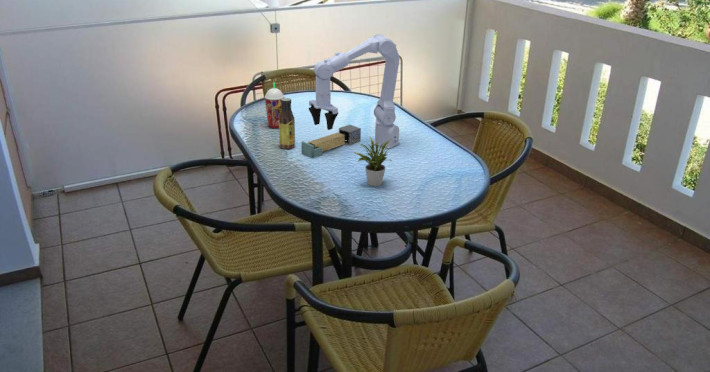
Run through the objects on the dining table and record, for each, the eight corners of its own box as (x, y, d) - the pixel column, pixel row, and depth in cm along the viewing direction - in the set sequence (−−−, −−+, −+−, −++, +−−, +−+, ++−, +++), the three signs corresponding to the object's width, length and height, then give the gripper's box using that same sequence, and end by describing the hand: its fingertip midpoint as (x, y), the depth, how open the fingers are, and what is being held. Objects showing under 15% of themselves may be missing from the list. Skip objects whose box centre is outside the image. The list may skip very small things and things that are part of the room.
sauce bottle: (292, 150, 239) (291, 102, 230) (277, 148, 240) (275, 101, 231) (297, 144, 244) (295, 97, 236) (282, 143, 245) (280, 96, 237)
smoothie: (283, 129, 260) (282, 85, 251) (264, 129, 260) (262, 84, 251) (286, 123, 267) (284, 79, 258) (267, 122, 267) (265, 79, 259)
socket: (310, 150, 239) (310, 138, 237) (321, 155, 235) (321, 143, 232) (301, 153, 236) (301, 141, 234) (312, 158, 232) (312, 146, 229)
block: (337, 141, 246) (337, 132, 245) (344, 144, 244) (344, 134, 242) (308, 151, 236) (308, 141, 234) (315, 154, 234) (314, 144, 232)
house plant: (372, 170, 222) (374, 129, 215) (403, 180, 214) (405, 138, 207) (348, 182, 212) (348, 139, 205) (379, 193, 204) (380, 149, 197)
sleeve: (349, 137, 253) (350, 124, 250) (360, 141, 248) (360, 128, 246) (338, 141, 248) (338, 128, 246) (349, 145, 244) (349, 132, 242)
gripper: (302, 91, 231) (303, 124, 237) (328, 99, 222) (328, 133, 228) (316, 87, 236) (317, 120, 242) (341, 96, 227) (341, 129, 233)
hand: (323, 126), depth 235 cm, fingers open, 7 cm apart
